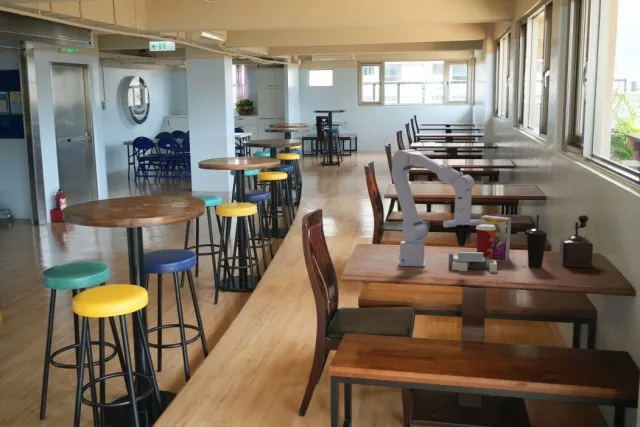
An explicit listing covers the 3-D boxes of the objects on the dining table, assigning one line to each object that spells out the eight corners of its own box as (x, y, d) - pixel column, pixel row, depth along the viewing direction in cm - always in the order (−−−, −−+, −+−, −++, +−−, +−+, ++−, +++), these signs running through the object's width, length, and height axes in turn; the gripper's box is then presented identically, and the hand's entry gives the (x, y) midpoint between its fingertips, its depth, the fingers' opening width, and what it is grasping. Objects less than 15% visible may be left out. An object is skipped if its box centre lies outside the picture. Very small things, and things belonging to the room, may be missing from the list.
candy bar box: (478, 256, 269) (479, 216, 266) (482, 254, 273) (484, 214, 270) (505, 260, 263) (507, 219, 260) (509, 258, 267) (511, 217, 264)
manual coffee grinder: (594, 268, 250) (597, 221, 247) (563, 267, 252) (566, 220, 249) (585, 258, 266) (588, 214, 263) (556, 257, 267) (558, 213, 264)
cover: (454, 261, 248) (454, 252, 247) (453, 257, 253) (453, 249, 252) (484, 261, 247) (484, 253, 246) (482, 258, 252) (483, 250, 251)
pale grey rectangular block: (448, 270, 248) (449, 255, 247) (448, 265, 256) (448, 251, 255) (496, 272, 245) (497, 257, 244) (494, 266, 253) (495, 252, 252)
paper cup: (495, 262, 259) (496, 227, 257) (474, 262, 260) (476, 226, 258) (493, 258, 267) (495, 223, 264) (474, 257, 268) (475, 223, 266)
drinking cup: (523, 268, 251) (526, 215, 247) (525, 263, 258) (527, 212, 254) (545, 270, 248) (548, 217, 245) (545, 265, 255) (548, 213, 252)
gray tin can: (469, 269, 251) (470, 267, 249) (469, 262, 253) (470, 259, 250) (485, 270, 250) (486, 268, 248) (485, 262, 252) (486, 260, 249)
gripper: (450, 211, 236) (448, 249, 238) (486, 209, 240) (484, 246, 242) (440, 208, 242) (439, 245, 245) (476, 206, 247) (474, 242, 249)
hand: (461, 245), depth 244 cm, fingers closed
